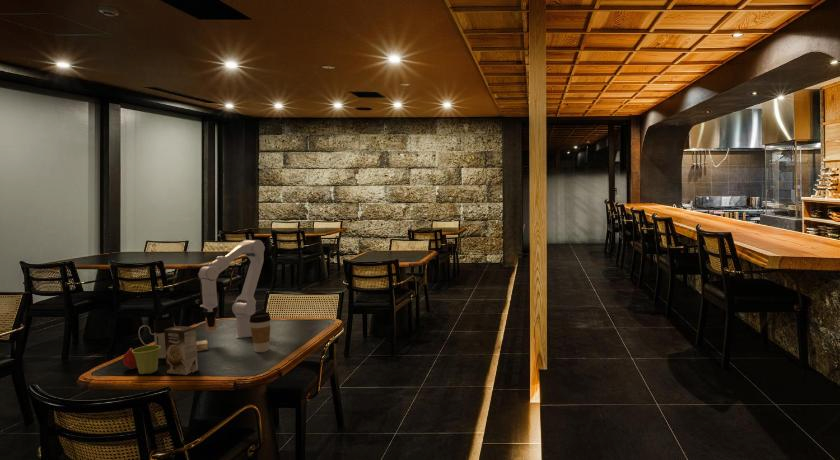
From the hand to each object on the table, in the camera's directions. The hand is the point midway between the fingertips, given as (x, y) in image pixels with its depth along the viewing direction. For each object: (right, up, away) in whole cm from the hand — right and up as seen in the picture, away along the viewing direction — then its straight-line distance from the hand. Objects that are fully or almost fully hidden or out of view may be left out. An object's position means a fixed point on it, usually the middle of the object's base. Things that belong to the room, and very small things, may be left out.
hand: (211, 325), depth 230 cm
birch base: (-3, -9, -5) cm, 11 cm away
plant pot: (-10, -11, -34) cm, 37 cm away
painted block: (0, -2, 0) cm, 2 cm away
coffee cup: (+25, -8, -11) cm, 28 cm away
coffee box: (+3, -11, -35) cm, 37 cm away
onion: (-18, -11, -29) cm, 36 cm away
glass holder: (-15, -10, -14) cm, 23 cm away
